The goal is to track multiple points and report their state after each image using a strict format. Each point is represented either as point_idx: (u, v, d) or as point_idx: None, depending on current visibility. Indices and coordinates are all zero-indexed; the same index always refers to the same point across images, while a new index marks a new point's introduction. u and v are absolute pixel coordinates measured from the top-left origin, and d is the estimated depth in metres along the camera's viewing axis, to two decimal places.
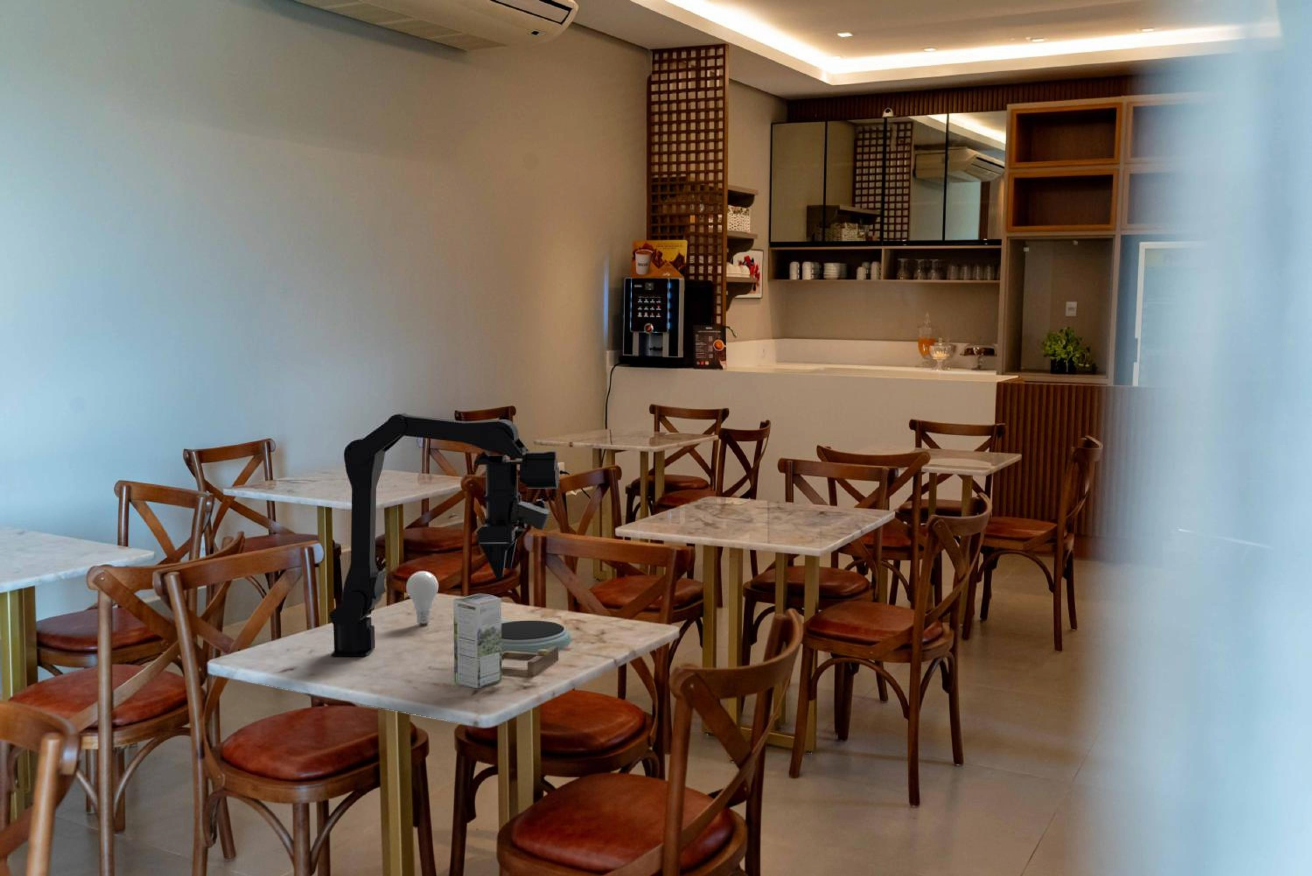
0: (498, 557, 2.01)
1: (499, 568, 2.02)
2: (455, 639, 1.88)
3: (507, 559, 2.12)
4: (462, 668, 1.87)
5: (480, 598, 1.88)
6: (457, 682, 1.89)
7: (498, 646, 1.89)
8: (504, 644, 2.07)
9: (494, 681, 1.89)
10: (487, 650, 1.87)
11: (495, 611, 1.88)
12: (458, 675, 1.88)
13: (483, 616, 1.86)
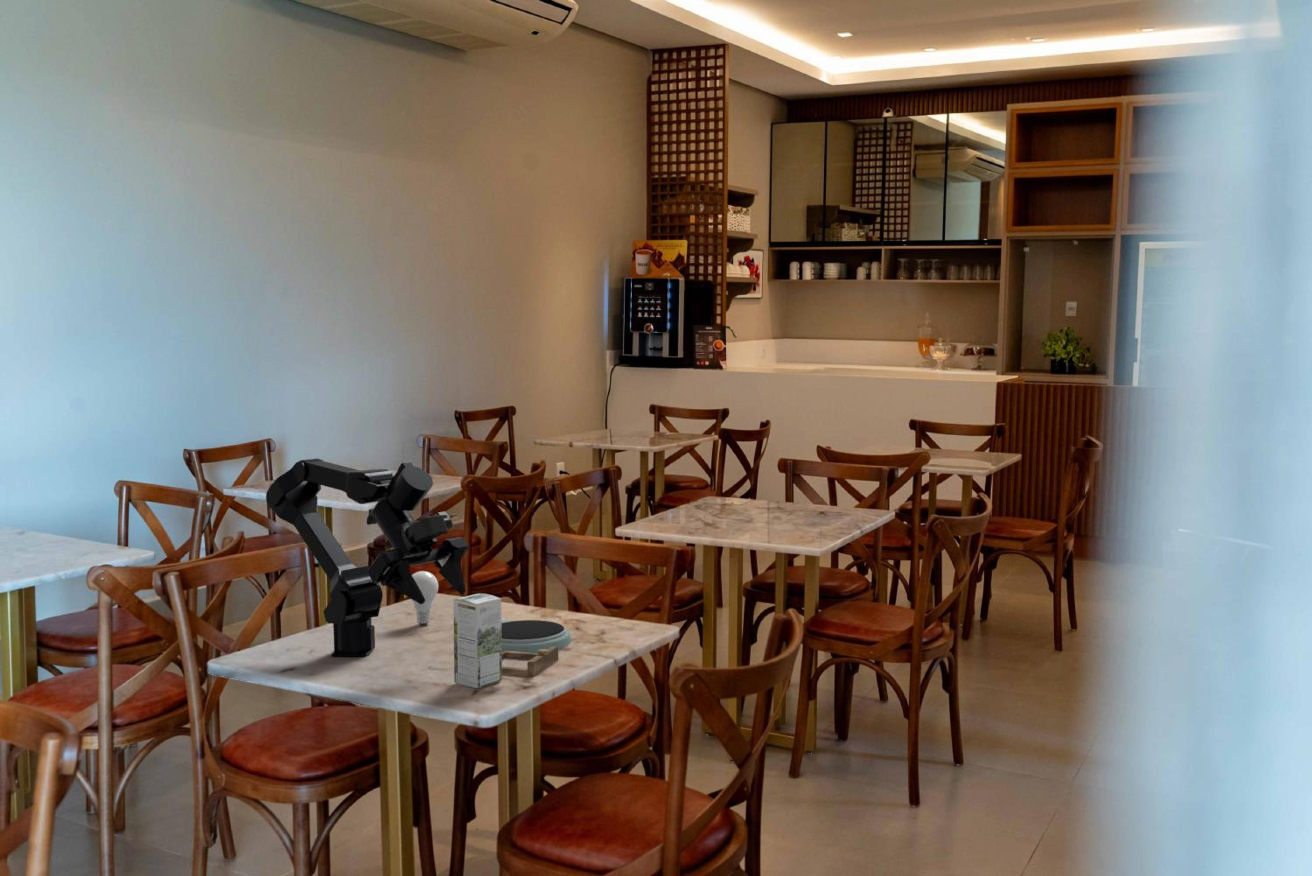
0: (406, 584, 1.90)
1: (414, 593, 1.90)
2: (455, 639, 1.88)
3: (457, 584, 1.98)
4: (462, 668, 1.87)
5: (480, 598, 1.88)
6: (457, 682, 1.89)
7: (498, 646, 1.89)
8: (504, 644, 2.08)
9: (494, 681, 1.89)
10: (487, 650, 1.87)
11: (495, 611, 1.88)
12: (458, 675, 1.88)
13: (483, 616, 1.86)
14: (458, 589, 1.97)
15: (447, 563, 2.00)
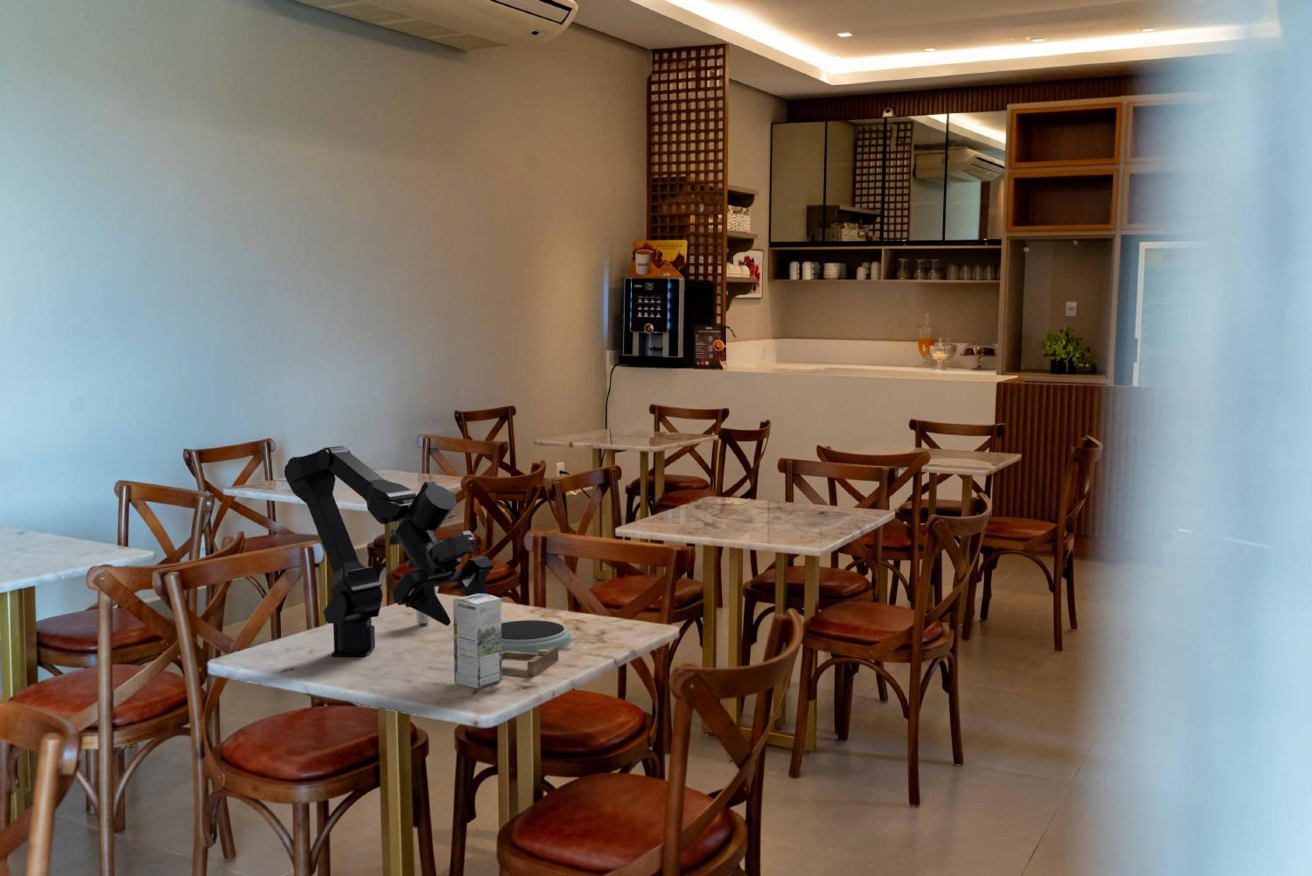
0: (431, 605, 1.87)
1: (439, 615, 1.86)
2: (455, 639, 1.88)
3: None
4: (462, 668, 1.87)
5: (479, 598, 1.88)
6: (457, 682, 1.89)
7: (498, 646, 1.89)
8: (504, 644, 2.08)
9: (494, 681, 1.89)
10: (487, 650, 1.87)
11: (495, 611, 1.88)
12: (458, 675, 1.88)
13: (483, 616, 1.86)
14: None
15: (471, 583, 1.96)
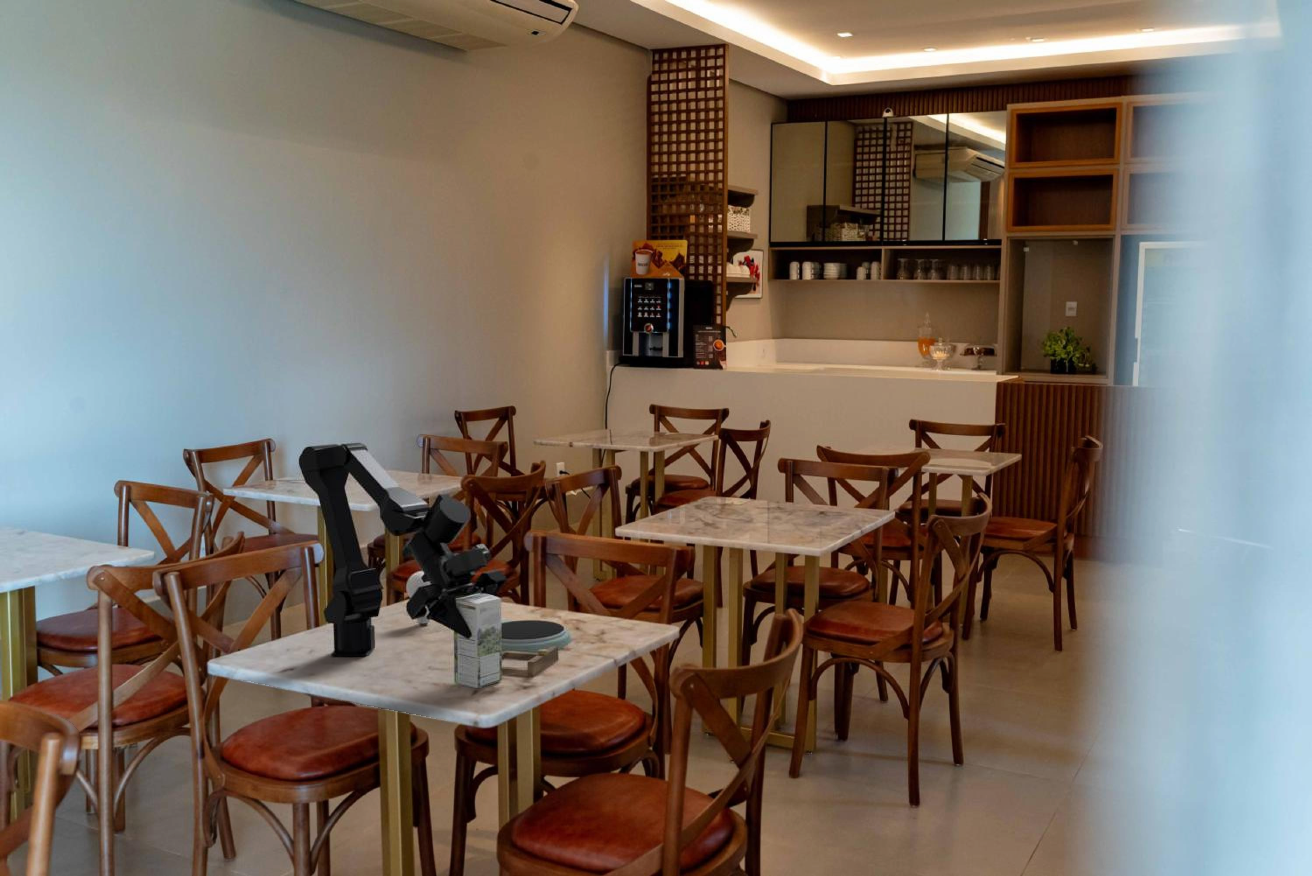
0: (452, 618, 1.86)
1: (460, 627, 1.86)
2: (455, 639, 1.88)
3: None
4: (462, 668, 1.87)
5: (480, 598, 1.88)
6: (457, 682, 1.89)
7: (498, 646, 1.89)
8: (504, 644, 2.08)
9: (494, 681, 1.89)
10: (487, 650, 1.87)
11: (495, 611, 1.88)
12: (458, 675, 1.88)
13: (483, 616, 1.86)
14: None
15: None
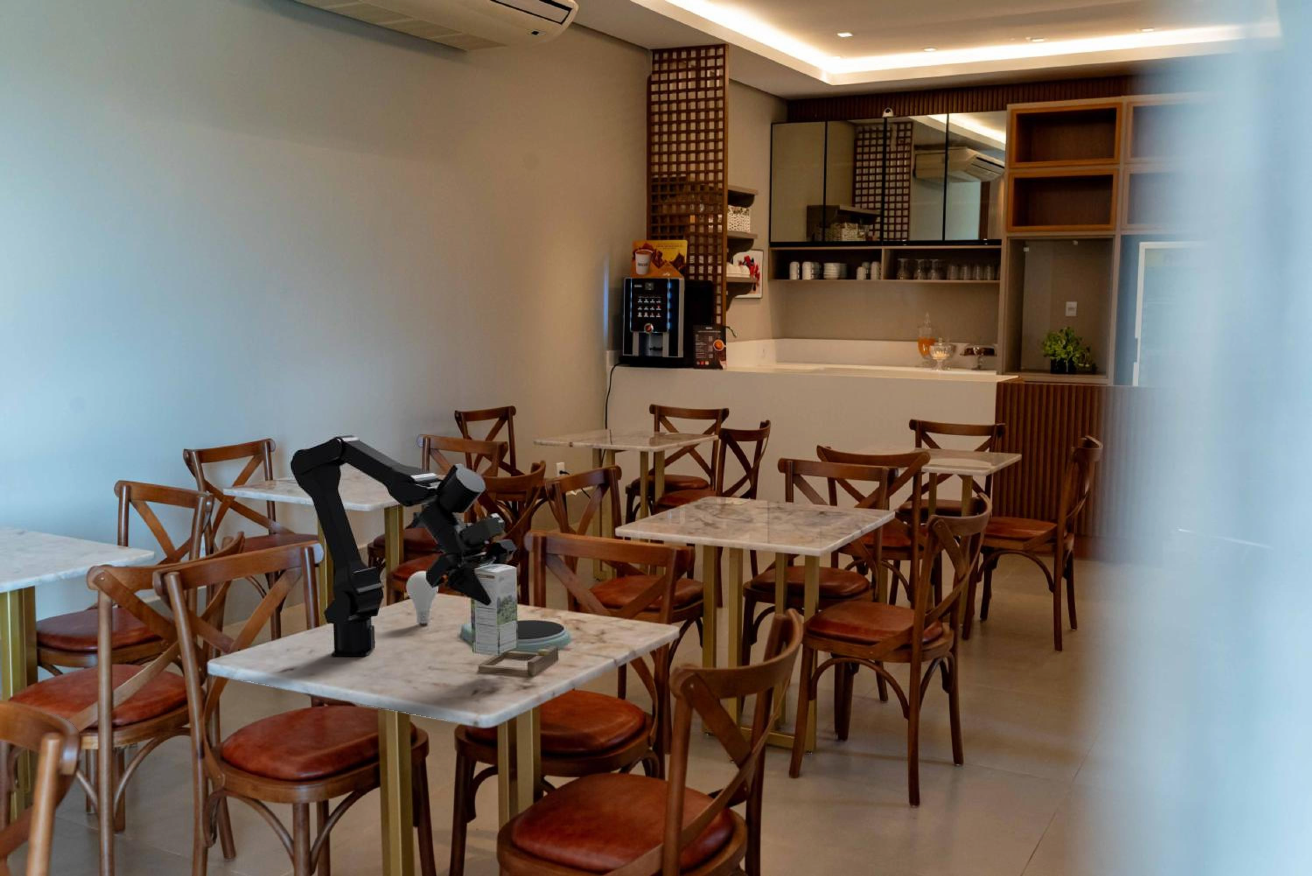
0: (471, 586, 1.89)
1: (480, 595, 1.89)
2: (472, 609, 1.91)
3: None
4: (481, 637, 1.90)
5: (496, 567, 1.91)
6: (475, 651, 1.91)
7: (514, 614, 1.93)
8: None
9: (512, 649, 1.92)
10: (505, 618, 1.90)
11: (511, 580, 1.92)
12: (476, 644, 1.91)
13: (502, 585, 1.89)
14: None
15: None
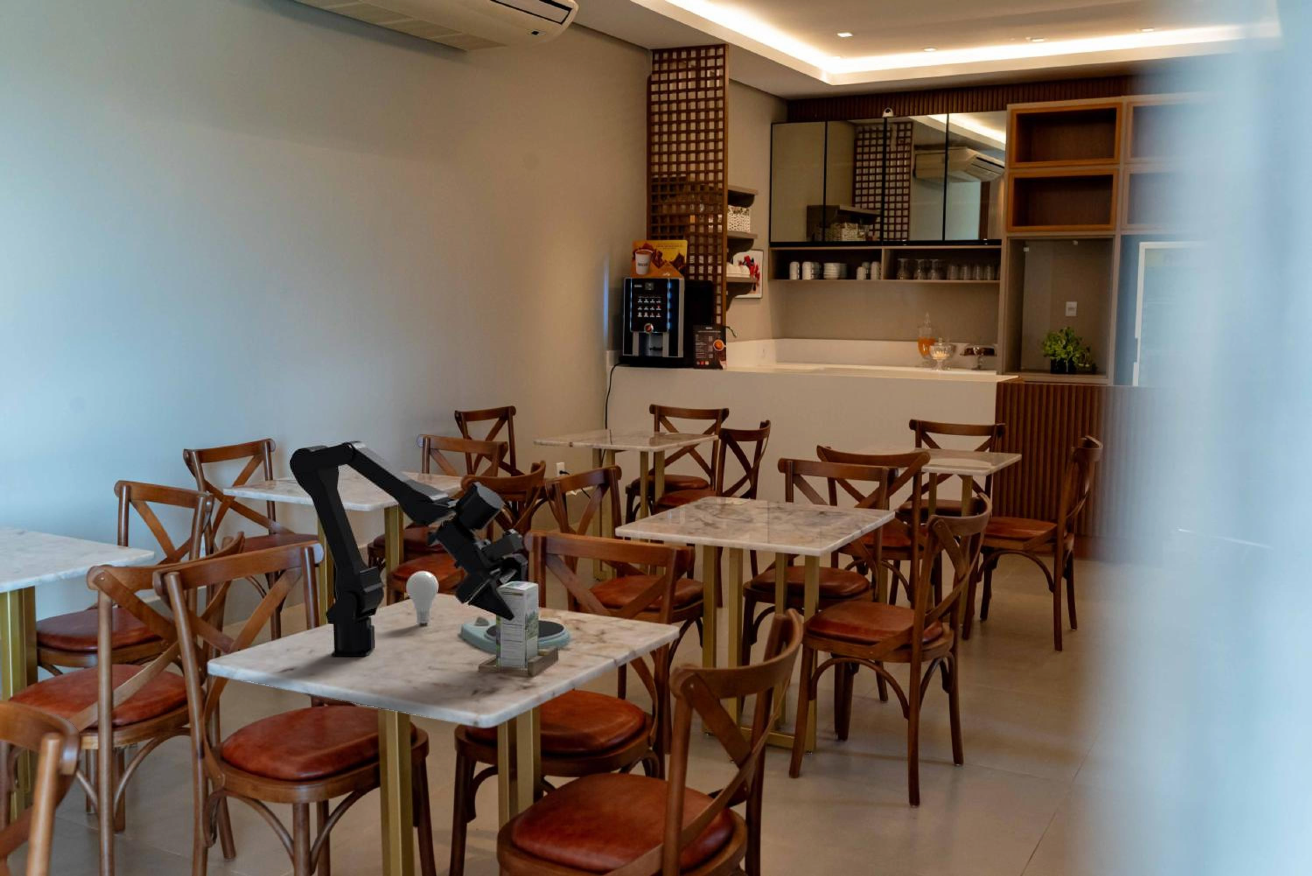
0: (494, 602, 1.93)
1: (503, 610, 1.93)
2: (498, 626, 1.97)
3: None
4: (507, 653, 1.97)
5: (520, 585, 1.98)
6: None
7: (536, 629, 2.00)
8: None
9: None
10: (530, 633, 1.97)
11: (535, 596, 1.99)
12: (500, 660, 1.97)
13: (528, 602, 1.96)
14: None
15: (511, 579, 2.04)
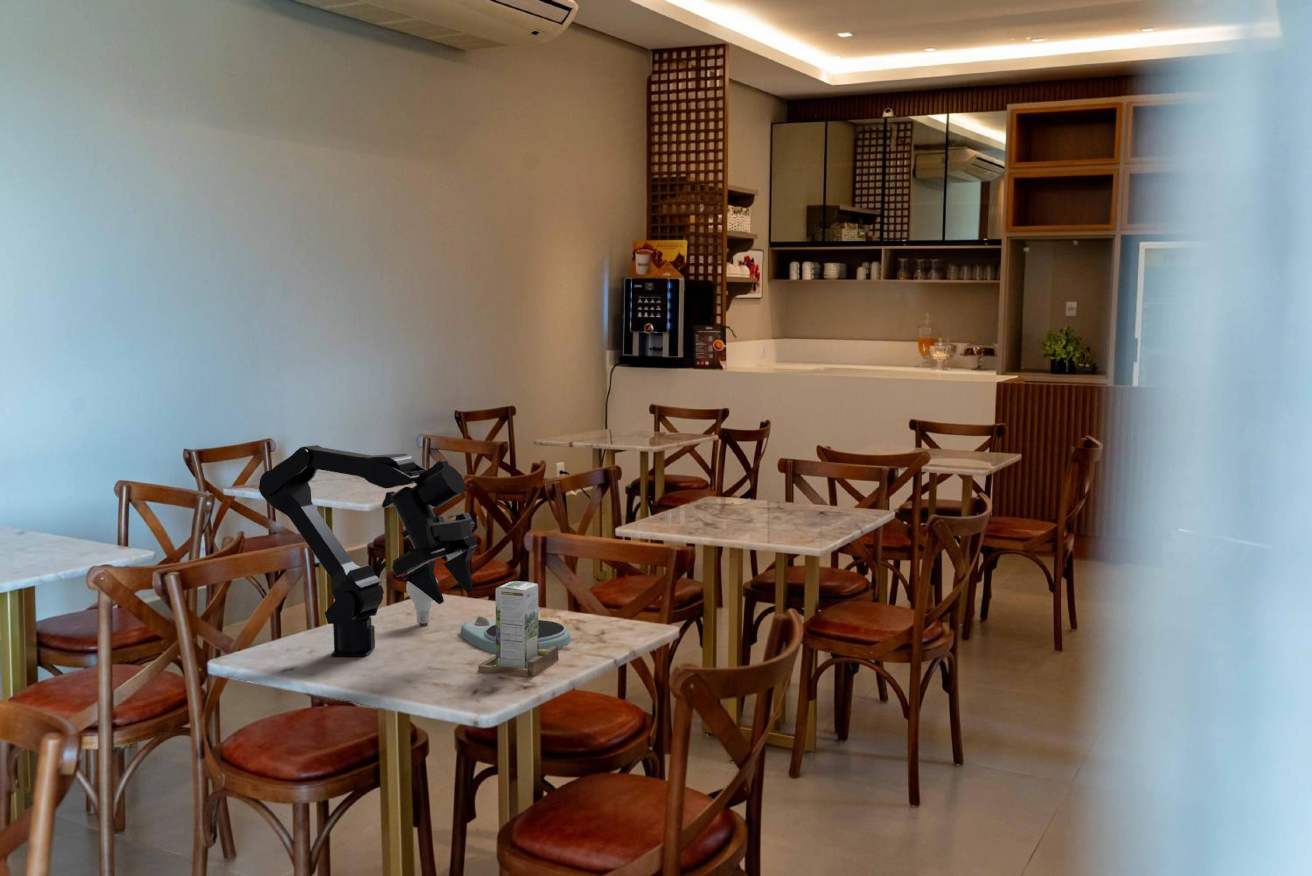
0: (428, 583, 1.95)
1: (434, 593, 1.96)
2: (497, 626, 1.97)
3: (465, 582, 2.05)
4: (507, 653, 1.97)
5: (520, 585, 1.98)
6: None
7: (536, 629, 2.00)
8: None
9: None
10: (530, 633, 1.97)
11: (535, 596, 1.99)
12: (500, 660, 1.97)
13: (528, 602, 1.96)
14: (465, 587, 2.05)
15: (456, 559, 2.06)
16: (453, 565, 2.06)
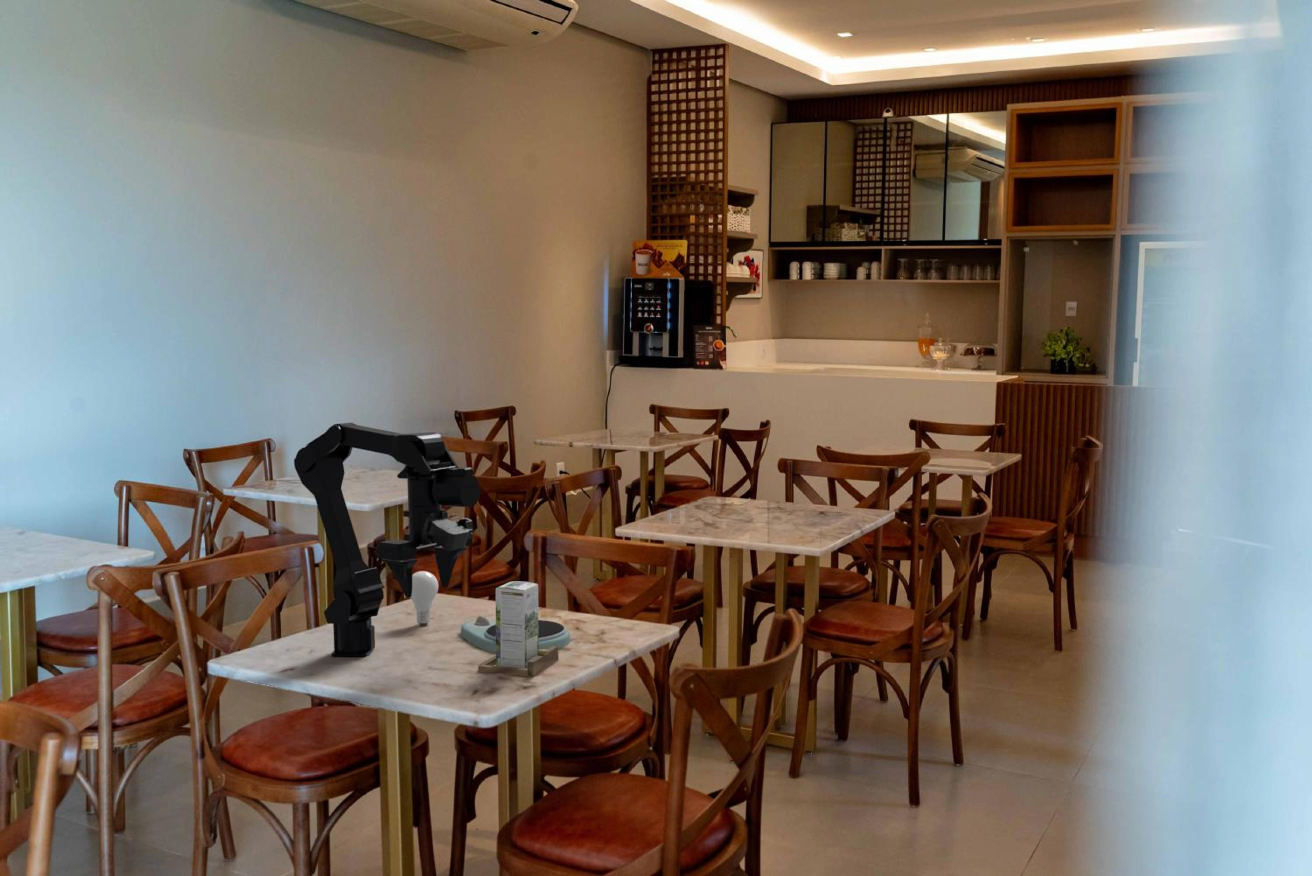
0: (403, 575, 1.95)
1: (405, 586, 1.95)
2: (498, 626, 1.97)
3: (444, 577, 2.03)
4: (507, 653, 1.97)
5: (520, 585, 1.98)
6: None
7: (536, 629, 2.00)
8: None
9: None
10: (530, 633, 1.97)
11: (535, 596, 1.99)
12: (500, 660, 1.97)
13: (528, 602, 1.96)
14: (442, 581, 2.04)
15: (445, 551, 2.04)
16: (441, 554, 2.04)
